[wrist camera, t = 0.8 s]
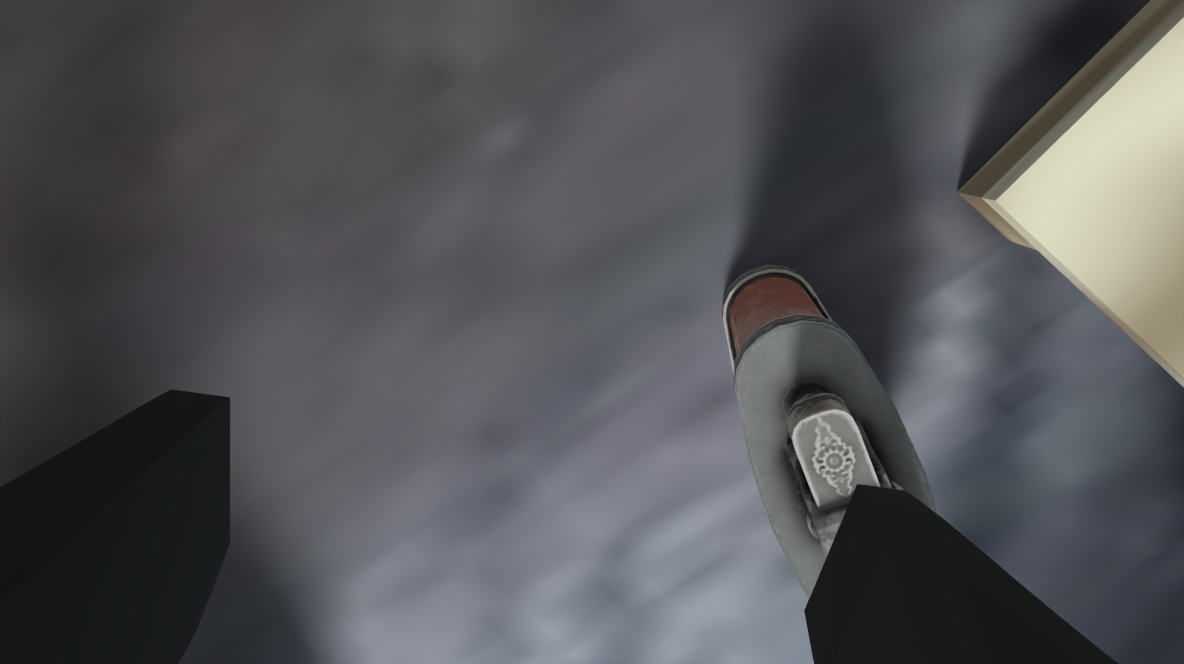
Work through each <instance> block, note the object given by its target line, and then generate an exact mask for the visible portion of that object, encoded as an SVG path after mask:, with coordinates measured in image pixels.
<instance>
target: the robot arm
mask: <svg viewBox="0 0 1184 664" xmlns="http://www.w3.org/2000/svg"><path fill="white" fill-rule="evenodd" d="M229 544H230V398H229V397H222V396H215V395H207V394H200V393H193V392H186V391H178V390H170V391H168V392H166V393H164V394H162V395H160V396H158V397H156V398H155V399H153V400H151V401H149V402H147V403H146V404H144V405H142V406H140V407H139V408H137V409H135V410H133V411H132V412H130V413H128V414H127V415H125V416H123V417H122V418H120V419H118V420H116V421H115V422H113V423H111V424H110V425H108V426H106V427H105V428H103V429H101V430H99V431H98V432H96V433H94V434H93V435H91V436H89V437H88V438H86V439H84V440H82V441H81V442H79V443H77V444H76V445H74V446H72V447H70V448H69V449H67V450H65V451H63V452H62V453H60V454H58V455H56V456H55V457H53V458H51V459H49V460H48V461H46V462H44V463H42V464H41V465H39V466H37V467H35V468H34V469H32V470H30V471H28V472H27V473H25V474H23V475H21V476H20V477H18V478H16V479H14V480H12V481H11V482H9V483H7V484H5V485H4V486H2V487H0V664H178V663H179V661H180V659H181V657H182V655H183V654H184V652H185V650H186V648H187V646H188V644H189V642H190V640H191V638H192V636H193V634H194V633H195V631H196V629H197V627H198V624H199V622H200V619H201V617H202V614H203V612H204V609H205V607H206V604H207V602H208V599H209V597H210V594H211V592H212V589H213V586H214V584H215V581H216V578H217V576H218V573H219V570H220V568H221V565H222V562H223V560H224V557H225V554H226V552H227V549H228V546H229ZM804 611H805V616H806V622H807V627H808V633H809V638H810V644H811V650H812V655H813V660H814V664H1118V663H1117V662H1115V661H1114V660H1113V659H1111V658H1110V657H1109V656H1108V655H1106V654H1105V653H1104V652H1103V651H1101V650H1100V649H1099V648H1098V647H1096V646H1095V645H1094V644H1093V643H1091V642H1090V641H1089V640H1088V639H1086V638H1085V637H1084V636H1083V635H1081V634H1080V633H1079V632H1078V631H1076V630H1075V629H1074V628H1073V627H1072V626H1070V625H1069V624H1068V623H1067V622H1066V621H1064V620H1063V619H1062V618H1061V617H1059V616H1058V615H1057V614H1056V613H1055V612H1053V611H1052V610H1051V609H1050V608H1049V607H1047V606H1046V605H1045V604H1044V603H1043V602H1041V601H1040V600H1039V599H1038V598H1037V597H1035V596H1034V595H1033V594H1032V593H1031V592H1029V591H1028V590H1027V589H1026V588H1025V587H1024V586H1022V585H1021V584H1020V583H1019V582H1018V581H1016V580H1015V579H1014V578H1013V577H1012V576H1011V575H1009V574H1008V573H1007V572H1006V571H1005V570H1003V569H1002V568H1001V567H1000V566H999V565H998V564H996V563H995V562H994V561H993V560H992V559H990V558H989V557H988V556H987V555H986V554H985V553H983V552H982V551H981V550H980V549H979V548H977V547H976V546H975V545H974V544H973V543H972V542H970V541H969V540H968V539H967V538H966V537H964V536H963V535H962V534H961V533H960V532H958V531H957V530H956V529H955V528H954V527H952V526H951V525H950V524H949V523H947V522H946V521H945V520H944V519H943V518H941V517H940V516H939V515H938V514H936V513H935V512H934V511H933V510H931V509H930V508H929V507H927V506H926V505H925V504H923V503H922V502H921V501H919V500H918V499H917V498H915V497H914V496H912V495H911V494H910V493H908V492H907V491H905V490H898V489H891V488H884V487H876V486H869V485H862V484H857V485H856V488H855V490H854V492H853V495H852V497H851V500H850V502H849V505H848V507H847V509H846V512H845V514H844V517H843V519H842V521H841V524H840V526H839V529H838V531H837V533H836V536H835V538H834V541H833V543H832V545H831V548H830V550H829V553H828V555H827V557H826V560H825V562H824V565H823V567H822V569H821V572H820V574H819V577H818V579H817V581H816V584H815V586H814V589H813V591H812V594H811V596H810V598H809V601H808V603H807V606H806V608H805V610H804Z"/></svg>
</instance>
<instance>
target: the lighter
mask: <svg viewBox="0 0 1184 664" xmlns="http://www.w3.org/2000/svg"><path fill="white" fill-rule="evenodd" d="M722 315H723V321H724V326H725V332H726V337H727V343H728V348H729V353H730V359H731V364H732V370H733V373H734V384H735V390H736V395H737V401H738V406H739V411H740V417H741V422H742V428H743V433H744V438H745V444H746V449H747V455H748V459H749V462H750V465H751V468H752V471H753V475H754V478H755V481H756V484H757V487H758V490H759V493H760V496H761V499H762V503H763V506H764V509H765V512H766V515H767V518H768V521H769V524H770V527H771V529H772V531H773V533H774V535H775V537H776V539H777V541H778V543H779V545H780V547H781V549H782V551H783V553H784V555H785V557H786V559H787V561H788V563H789V565H790V567H791V569H792V571H793V573H794V575H795V577H796V579H797V581H798V583H799V585H800V587H801V588H802V590H803V591H804V593H805V594H806V596H807V597H808V599H809V598H810V596H811V594H812V591H813V589H814V586H815V584H816V581H817V579H818V577H819V574H820V572H821V569H822V567H823V565H824V562H825V560H826V557H827V555H828V553H829V550H830V548H831V545H832V543H833V541H834V538H835V536H836V533H837V531H838V529H839V526H840V524H841V521H842V519H843V517H844V514H845V512H846V509H847V507H848V505H849V502H850V500H851V497H852V495H853V492H854V490H855V488H856V485H857V484H862V485H869V486H876V487H884V488H891V489H898V490H905V491H907V492H908V493H910V494H911V495H912V496H914V497H915V498H917V499H918V500H919V501H921V502H922V503H923V504H925V505H926V506H927V507H929V508H930V509H931V510H933V511H934V512H935V513H936V514H937V511H936V508H935V504H934V501H933V497H932V493H931V490H930V486H929V483H928V479H927V475H926V473H925V470H924V468H923V466H922V464H921V462H920V460H919V457H918V455H917V453H916V451H915V449H914V446H913V444H912V442H911V440H910V438H909V436H908V433H907V431H906V429H905V427H904V425H903V422H902V420H901V418H900V416H899V414H898V412H897V409H896V407H895V405H894V404H893V402H892V401H891V399H890V398H889V396H888V394H887V393H886V391H885V390H884V388H883V386H882V385H881V383H880V382H879V380H878V378H877V377H876V375H875V374H874V372H873V370H872V369H871V367H870V366H869V364H868V362H867V361H866V359H865V358H864V356H863V354H862V353H861V351H860V350H859V348H858V346H857V345H856V344H855V342H854V341H853V340H852V338H851V337H850V336H849V335H848V334H847V333H846V332H845V331H844V330H843V329H842V328H841V327H840V326H839V325H838V324H837V323H835V322H833V321H832V319H831V317H830V316H829V314H828V313H827V311H826V309H825V308H824V306H823V305H822V303H821V302H820V300H819V298H818V297H817V295H816V294H815V292H814V290H813V289H812V287H811V286H810V284H809V283H808V282H807V281H806V280H805V279H804V278H803V277H802V276H801V275H800V274H799V273H798V272H797V271H795V270H792V269H790V268H788V267H786V266H779V265H765V266H761V267H756V268H752V269H751V270H749V271H747V272H745V273H744V274H742V275H740V276H739V277H738V278H737V279H736V280H735V281H734V282H733V283H732V284H731V285H730V286H729V287H728V290H727V292H726V294H725V296H724V299H723V304H722Z"/></svg>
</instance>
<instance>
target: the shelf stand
mask: <svg viewBox="0 0 1184 664" xmlns="http://www.w3.org/2000/svg"><path fill="white" fill-rule="evenodd" d="M957 193H958V194H960V195H961V196H962V197H963V198H964V199H965V200H966V201H967V202H968V203H969V204H970V205H971V206H972V207H973V208H975V209H976V210H977V211H978V212H979V213H980V214H981V215H982V216H983V217H984V218H985V219H986V220H987V221H988V222H989V223H991V224H992V225H993V226H994V227H995V228H996V229H997V230H998V231H999V232H1000V233H1001V234H1002V235H1003V236H1004V237H1005V238H1007V239H1008V240H1009V241H1011V242H1014V243H1017V244H1020V245H1023V246H1026V247H1029V248H1032V249H1035V250H1038V251H1039V252H1040V253H1041V254H1042V255H1043V256H1044V257H1045V258H1046V259H1047V260H1048V261H1049V262H1051V263H1052V264H1053V265H1054V266H1055V267H1056V268H1057V269H1058V270H1059V271H1060V272H1061V273H1062V274H1063V275H1064V276H1065V277H1067V278H1068V279H1069V280H1070V281H1071V282H1072V283H1073V284H1074V285H1075V286H1076V287H1077V288H1078V289H1079V290H1080V291H1081V292H1083V293H1084V294H1085V295H1086V296H1087V297H1088V298H1089V299H1090V300H1091V301H1092V302H1093V303H1094V304H1095V305H1096V306H1097V307H1099V308H1100V309H1101V310H1102V311H1103V312H1104V313H1105V314H1106V315H1107V316H1108V317H1109V318H1110V319H1111V320H1112V321H1113V322H1114V323H1116V324H1117V325H1118V326H1119V327H1120V328H1121V329H1122V330H1123V331H1124V332H1125V333H1126V334H1127V335H1128V336H1129V337H1130V338H1132V339H1133V340H1134V341H1135V342H1136V343H1137V344H1138V345H1139V346H1140V347H1141V348H1142V349H1143V350H1144V351H1145V352H1146V353H1148V354H1149V355H1150V356H1151V357H1152V358H1153V359H1154V360H1155V361H1156V362H1157V363H1158V364H1159V365H1160V366H1161V367H1162V368H1164V369H1165V370H1166V371H1167V372H1168V373H1169V374H1170V375H1171V376H1172V377H1173V378H1174V379H1175V380H1176V381H1177V382H1178V383H1180V384H1181V385H1182V386H1183V387H1184V0H1150V1H1149V2H1148V3H1147V4H1146V5H1145V6H1144V7H1143V8H1142V9H1141V10H1140V11H1139V12H1138V13H1137V14H1136V15H1135V16H1134V17H1133V18H1132V19H1131V20H1130V21H1129V22H1128V23H1127V24H1126V25H1125V26H1124V27H1123V28H1122V29H1121V30H1120V31H1119V32H1118V33H1117V34H1116V35H1115V36H1114V37H1113V38H1112V39H1111V40H1110V41H1109V42H1108V43H1107V44H1106V45H1105V46H1104V47H1103V48H1102V49H1101V50H1100V51H1099V52H1098V53H1097V54H1096V55H1095V56H1094V57H1093V58H1092V59H1091V60H1090V61H1089V62H1088V63H1087V64H1086V65H1085V66H1084V67H1083V68H1081V69H1080V70H1079V71H1078V72H1077V73H1076V74H1075V75H1074V76H1073V77H1072V78H1071V79H1070V80H1069V81H1068V82H1067V83H1066V84H1065V85H1064V86H1063V87H1062V88H1061V89H1060V90H1059V91H1058V92H1057V93H1056V94H1055V95H1054V96H1053V97H1052V98H1051V99H1050V100H1049V101H1048V102H1047V103H1046V104H1045V105H1044V106H1043V107H1042V108H1041V109H1040V110H1039V111H1038V112H1037V113H1036V114H1035V115H1034V116H1033V117H1032V118H1031V119H1030V120H1029V121H1028V122H1027V123H1026V124H1025V125H1024V126H1023V127H1022V128H1021V129H1020V130H1019V131H1018V132H1017V133H1016V134H1015V135H1014V136H1013V137H1012V138H1011V139H1010V140H1009V141H1008V142H1007V143H1006V144H1005V145H1004V146H1003V147H1002V148H1001V149H1000V150H999V151H998V152H997V153H996V154H995V155H994V156H993V157H992V158H991V159H990V160H989V161H988V162H987V163H986V164H985V165H984V166H983V167H982V168H981V169H980V170H979V171H978V172H977V173H976V174H975V175H974V176H973V177H972V178H971V179H970V180H969V181H968V182H967V183H966V184H965V185H964V186H963V187H962V188H961V189H960V190H959V191H958V192H957Z"/></svg>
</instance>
